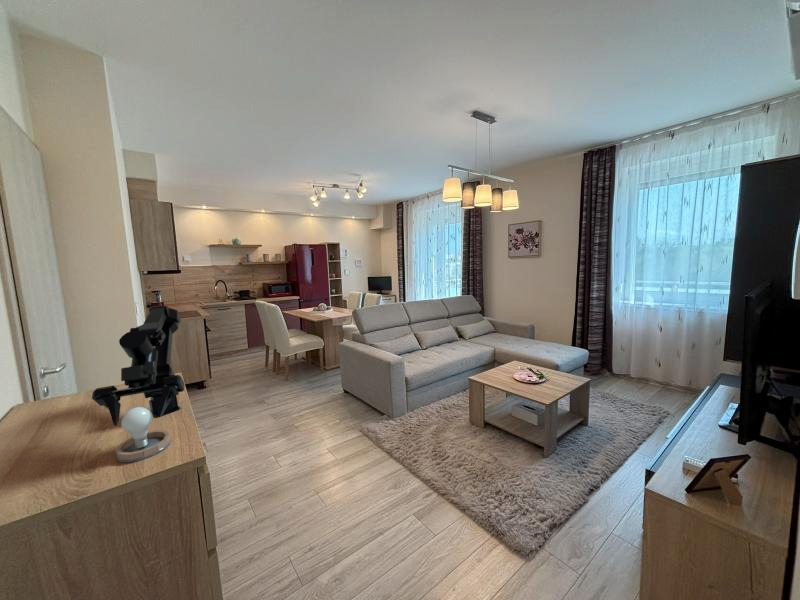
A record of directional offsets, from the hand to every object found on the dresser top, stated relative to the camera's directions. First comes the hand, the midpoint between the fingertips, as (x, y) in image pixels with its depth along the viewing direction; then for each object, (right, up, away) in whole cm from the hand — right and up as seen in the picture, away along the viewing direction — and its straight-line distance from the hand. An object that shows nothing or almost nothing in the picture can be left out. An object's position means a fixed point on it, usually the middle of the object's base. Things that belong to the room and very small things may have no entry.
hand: (138, 420), depth 82 cm
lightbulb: (-1, -8, +2) cm, 8 cm away
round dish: (0, -8, +2) cm, 9 cm away
